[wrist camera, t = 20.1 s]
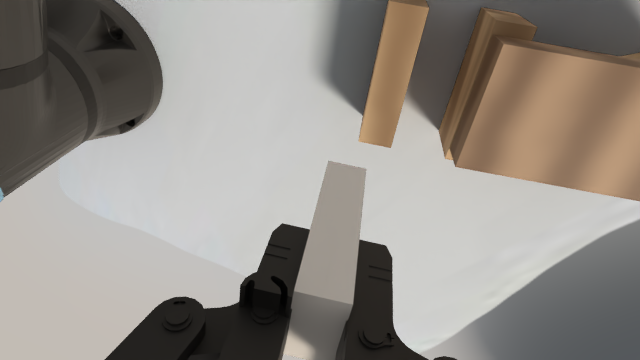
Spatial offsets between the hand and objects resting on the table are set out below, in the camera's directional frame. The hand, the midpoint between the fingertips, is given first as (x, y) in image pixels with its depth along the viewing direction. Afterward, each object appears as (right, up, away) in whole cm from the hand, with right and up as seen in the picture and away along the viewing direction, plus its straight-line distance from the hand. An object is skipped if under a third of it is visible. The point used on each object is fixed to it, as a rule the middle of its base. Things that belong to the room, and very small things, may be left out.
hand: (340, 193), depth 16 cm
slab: (+19, +6, +16) cm, 26 cm away
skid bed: (+10, +11, +21) cm, 26 cm away
